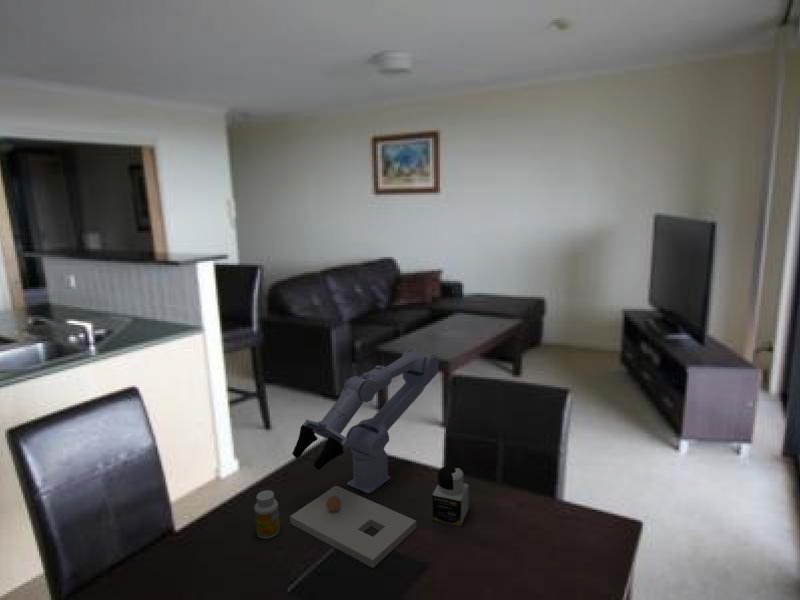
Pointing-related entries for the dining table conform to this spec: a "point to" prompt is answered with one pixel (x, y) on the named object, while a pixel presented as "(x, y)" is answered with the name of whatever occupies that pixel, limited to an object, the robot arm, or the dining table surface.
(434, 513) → the medicine bottle
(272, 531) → the supplement bottle
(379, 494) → the dining table surface
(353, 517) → the white flat board
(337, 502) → the ball
